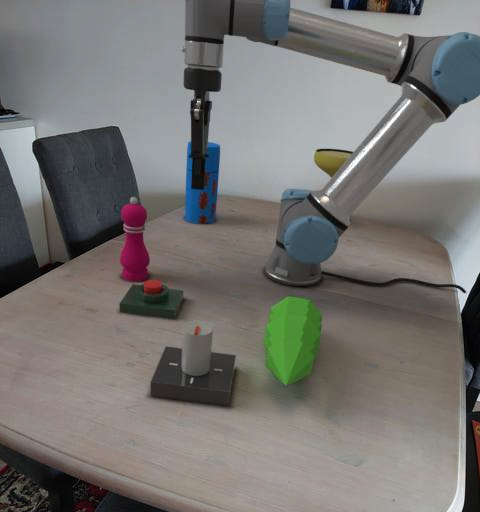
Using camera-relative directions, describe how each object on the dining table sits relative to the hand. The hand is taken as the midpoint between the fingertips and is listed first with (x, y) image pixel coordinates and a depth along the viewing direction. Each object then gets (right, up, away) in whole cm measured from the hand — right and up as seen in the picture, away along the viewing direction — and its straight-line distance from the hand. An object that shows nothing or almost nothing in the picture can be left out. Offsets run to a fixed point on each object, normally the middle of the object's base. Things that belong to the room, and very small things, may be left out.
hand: (197, 188), depth 104 cm
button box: (-10, -26, +2) cm, 28 cm away
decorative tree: (+18, -38, -14) cm, 44 cm away
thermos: (-5, +6, +60) cm, 61 cm away
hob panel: (+1, -40, -22) cm, 45 cm away
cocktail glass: (+42, +7, +70) cm, 82 cm away
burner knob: (+2, -37, -23) cm, 44 cm away
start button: (-10, -23, 0) cm, 25 cm away
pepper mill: (-17, -18, +14) cm, 29 cm away
